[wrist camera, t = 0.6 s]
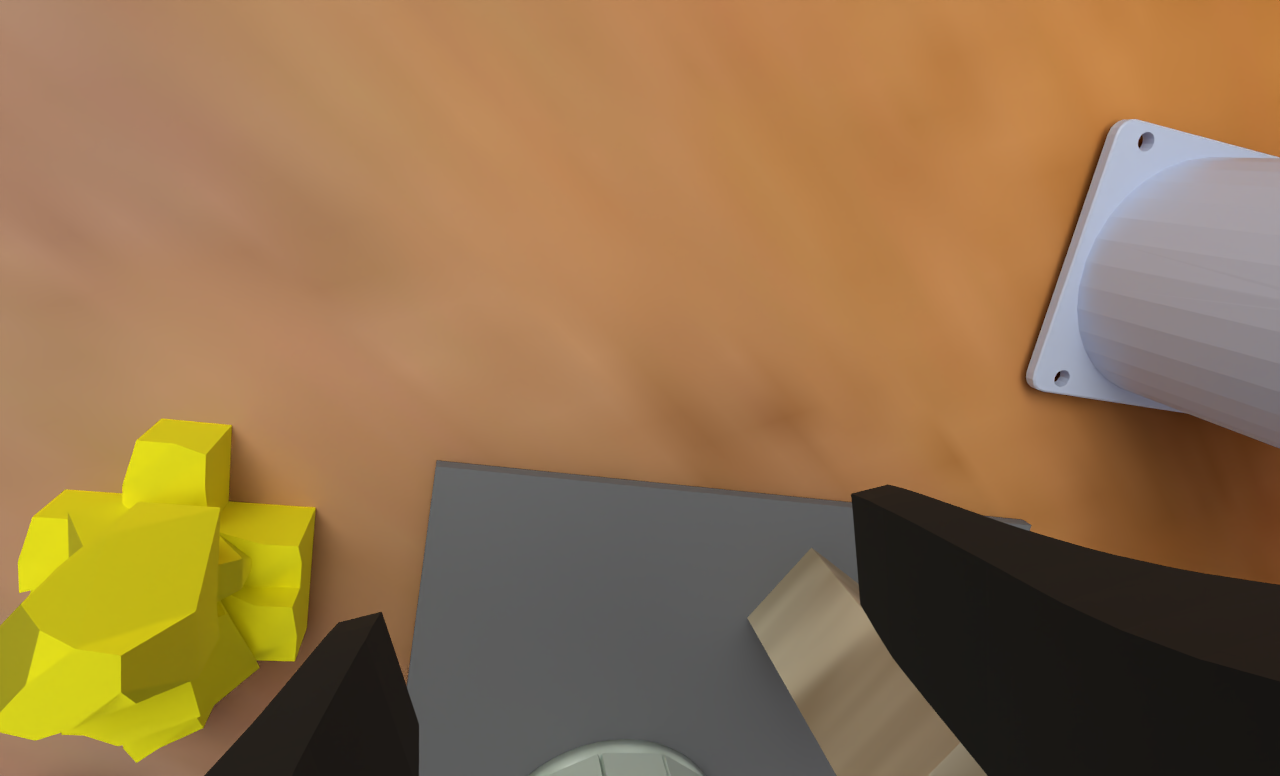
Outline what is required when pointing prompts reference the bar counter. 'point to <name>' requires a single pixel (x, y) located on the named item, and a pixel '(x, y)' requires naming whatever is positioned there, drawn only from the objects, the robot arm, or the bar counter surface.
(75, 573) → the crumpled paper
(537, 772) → the jar
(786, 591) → the peg
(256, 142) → the bar counter surface
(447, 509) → the mat
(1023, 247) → the bar counter surface
